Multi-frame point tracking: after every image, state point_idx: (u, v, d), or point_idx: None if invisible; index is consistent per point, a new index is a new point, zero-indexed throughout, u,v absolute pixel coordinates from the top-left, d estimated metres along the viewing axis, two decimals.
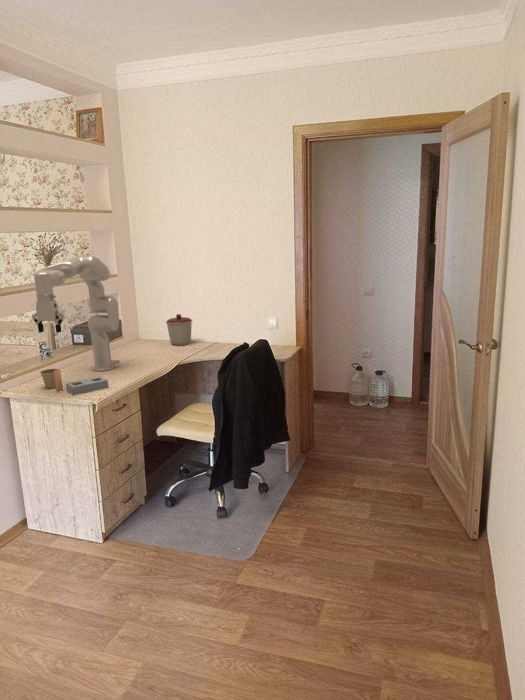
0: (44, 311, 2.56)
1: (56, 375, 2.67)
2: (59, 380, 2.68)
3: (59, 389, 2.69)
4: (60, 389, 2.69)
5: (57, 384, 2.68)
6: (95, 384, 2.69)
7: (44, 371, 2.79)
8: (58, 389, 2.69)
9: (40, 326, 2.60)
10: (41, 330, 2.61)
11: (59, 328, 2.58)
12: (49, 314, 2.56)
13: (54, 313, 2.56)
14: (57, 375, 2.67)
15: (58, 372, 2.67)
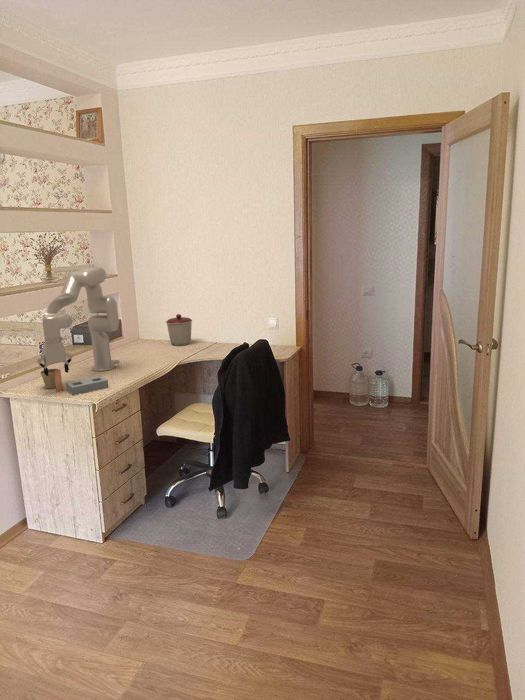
0: (56, 353, 2.64)
1: (56, 375, 2.67)
2: (59, 380, 2.68)
3: (59, 389, 2.69)
4: (60, 389, 2.69)
5: (57, 384, 2.68)
6: (95, 384, 2.69)
7: None
8: (58, 389, 2.69)
9: None
10: None
11: (68, 368, 2.70)
12: (61, 355, 2.66)
13: (65, 354, 2.67)
14: (57, 375, 2.67)
15: (58, 372, 2.67)
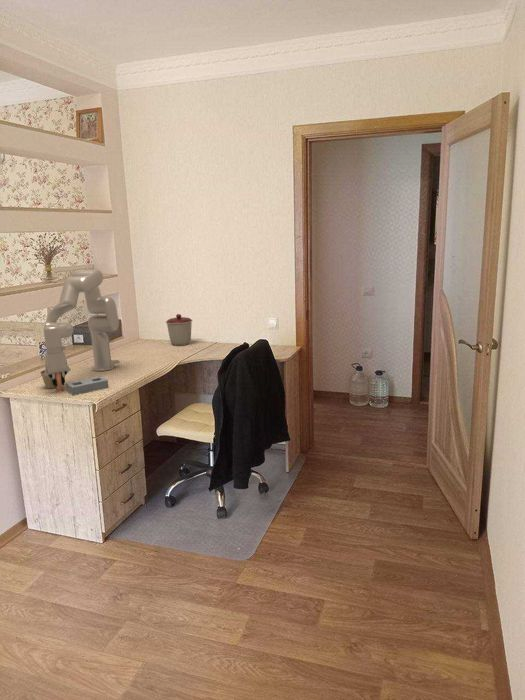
0: (58, 363, 2.65)
1: (56, 375, 2.67)
2: (59, 380, 2.68)
3: (59, 389, 2.69)
4: (60, 389, 2.69)
5: (57, 384, 2.68)
6: (95, 384, 2.69)
7: (44, 371, 2.79)
8: (58, 389, 2.69)
9: None
10: None
11: (64, 380, 2.70)
12: (63, 365, 2.67)
13: None
14: (57, 375, 2.67)
15: (58, 372, 2.67)
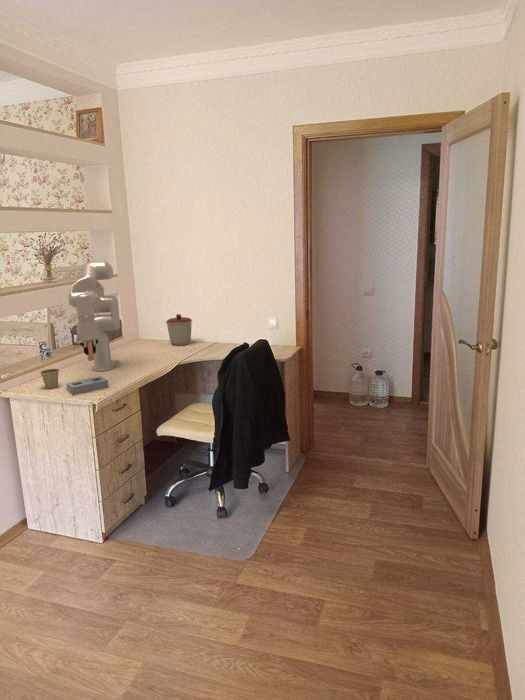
0: (89, 331, 2.66)
1: (87, 343, 2.68)
2: (90, 348, 2.68)
3: (90, 357, 2.69)
4: (91, 358, 2.70)
5: (88, 352, 2.69)
6: (95, 384, 2.69)
7: (44, 371, 2.79)
8: (89, 357, 2.69)
9: None
10: None
11: (95, 349, 2.71)
12: (94, 333, 2.67)
13: (98, 332, 2.69)
14: (89, 343, 2.68)
15: None
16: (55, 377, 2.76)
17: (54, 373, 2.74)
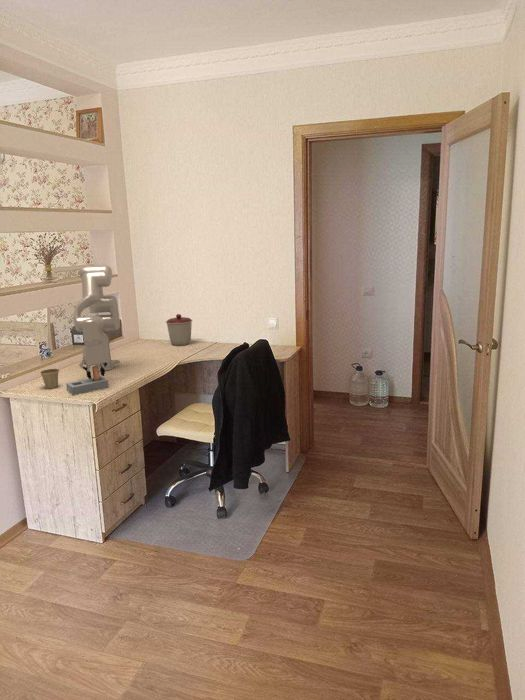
0: (95, 355, 2.69)
1: (94, 371, 2.71)
2: (97, 376, 2.72)
3: None
4: None
5: (95, 380, 2.72)
6: (95, 384, 2.69)
7: (44, 371, 2.79)
8: None
9: None
10: None
11: (104, 371, 2.75)
12: (100, 357, 2.71)
13: (104, 356, 2.73)
14: (95, 371, 2.71)
15: (96, 368, 2.71)
16: (55, 377, 2.76)
17: (54, 373, 2.74)
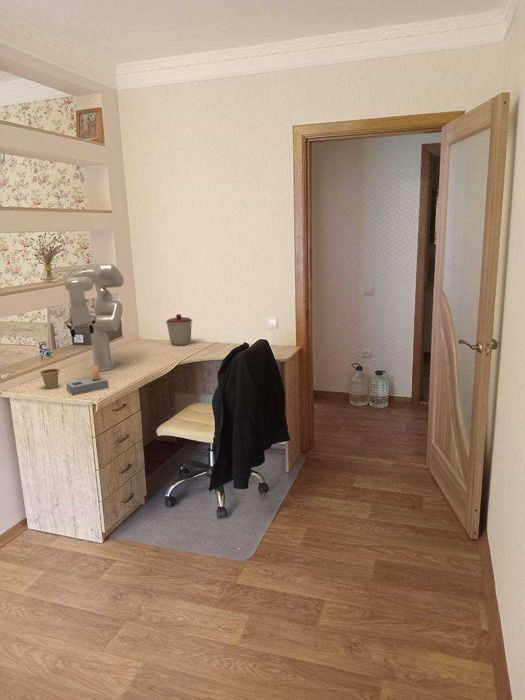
0: (82, 315, 2.77)
1: (94, 371, 2.71)
2: (97, 376, 2.72)
3: None
4: None
5: (95, 380, 2.72)
6: (95, 384, 2.69)
7: (44, 371, 2.79)
8: None
9: None
10: None
11: (93, 329, 2.85)
12: (86, 317, 2.79)
13: (90, 316, 2.81)
14: (95, 371, 2.71)
15: (96, 368, 2.71)
16: (55, 377, 2.76)
17: (54, 373, 2.74)
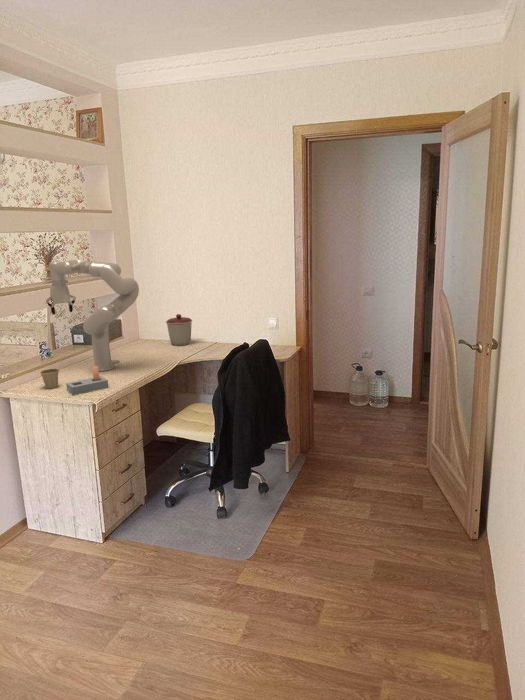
0: (61, 294, 3.02)
1: (94, 371, 2.71)
2: (97, 376, 2.72)
3: None
4: None
5: (95, 380, 2.72)
6: (95, 384, 2.69)
7: (44, 371, 2.79)
8: None
9: None
10: None
11: (72, 308, 3.08)
12: (66, 296, 3.03)
13: (69, 295, 3.05)
14: (95, 371, 2.71)
15: (96, 368, 2.71)
16: (55, 377, 2.76)
17: (54, 373, 2.74)
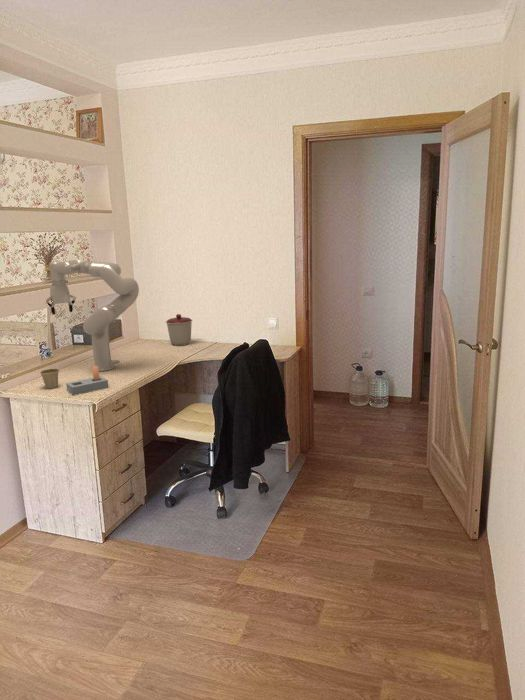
0: (61, 294, 3.02)
1: (94, 371, 2.71)
2: (97, 376, 2.72)
3: None
4: None
5: (95, 380, 2.72)
6: (95, 384, 2.69)
7: (44, 371, 2.79)
8: None
9: None
10: None
11: (72, 308, 3.08)
12: (66, 296, 3.04)
13: (69, 295, 3.05)
14: (95, 371, 2.71)
15: (96, 368, 2.71)
16: (55, 377, 2.76)
17: (54, 373, 2.74)
